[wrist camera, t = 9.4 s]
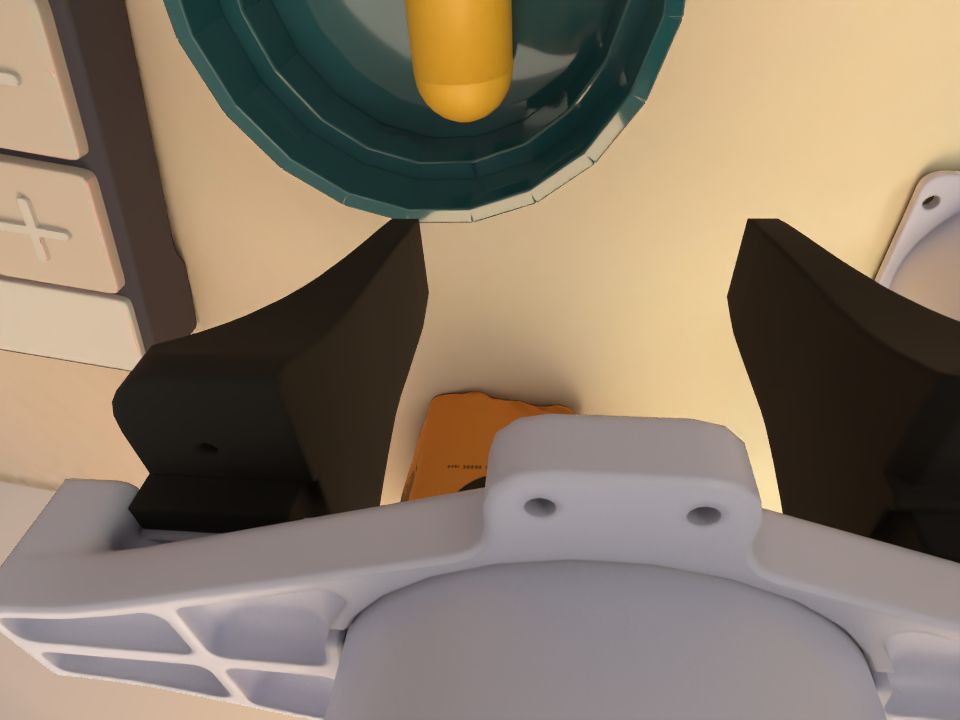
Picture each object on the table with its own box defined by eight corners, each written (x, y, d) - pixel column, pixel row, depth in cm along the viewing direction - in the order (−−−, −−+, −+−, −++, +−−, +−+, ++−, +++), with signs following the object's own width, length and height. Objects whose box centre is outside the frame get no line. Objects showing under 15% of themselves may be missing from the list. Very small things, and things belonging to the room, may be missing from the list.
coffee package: (617, 398, 30) (689, 1115, 13) (569, 535, 38) (578, 1077, 22) (415, 371, 30) (241, 1050, 13) (412, 514, 38) (303, 1038, 22)
